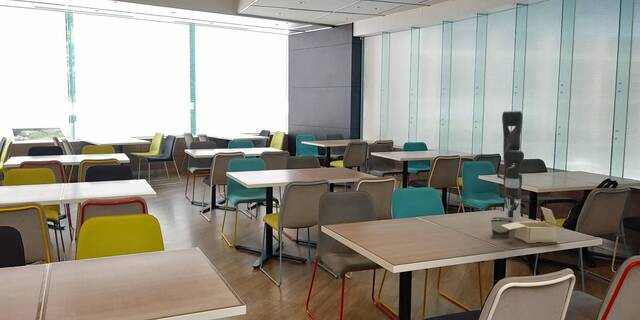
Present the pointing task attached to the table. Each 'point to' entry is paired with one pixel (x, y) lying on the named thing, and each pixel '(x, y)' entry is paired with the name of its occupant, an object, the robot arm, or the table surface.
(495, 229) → the food container
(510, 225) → the flap front
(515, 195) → the robot arm
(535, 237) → the carton
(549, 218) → the flap back
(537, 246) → the table surface
